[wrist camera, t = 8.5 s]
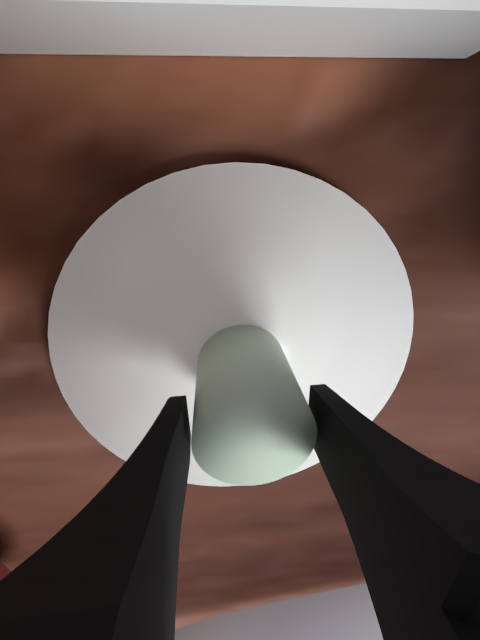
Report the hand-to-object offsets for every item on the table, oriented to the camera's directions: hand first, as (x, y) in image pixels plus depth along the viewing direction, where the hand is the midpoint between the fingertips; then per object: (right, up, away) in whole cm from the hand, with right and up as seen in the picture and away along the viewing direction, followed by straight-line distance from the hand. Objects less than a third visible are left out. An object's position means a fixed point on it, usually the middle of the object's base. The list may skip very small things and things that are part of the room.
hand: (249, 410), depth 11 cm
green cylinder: (0, +1, +3) cm, 3 cm away
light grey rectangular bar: (-1, +14, -1) cm, 14 cm away
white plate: (0, +2, +4) cm, 4 cm away
